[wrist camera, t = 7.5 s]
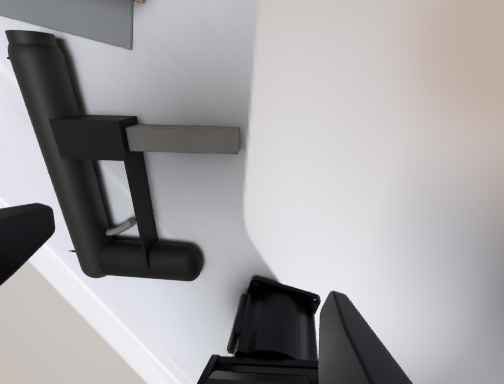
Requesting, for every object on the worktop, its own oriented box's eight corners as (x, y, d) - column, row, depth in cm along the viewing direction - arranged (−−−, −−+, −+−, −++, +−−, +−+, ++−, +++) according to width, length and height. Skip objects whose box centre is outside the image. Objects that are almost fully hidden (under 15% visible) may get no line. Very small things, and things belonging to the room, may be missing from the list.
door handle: (232, 24, 14) (-31, 28, 15) (238, 296, 22) (66, 283, 23) (240, 34, 17) (21, 37, 18) (243, 270, 25) (91, 259, 26)
